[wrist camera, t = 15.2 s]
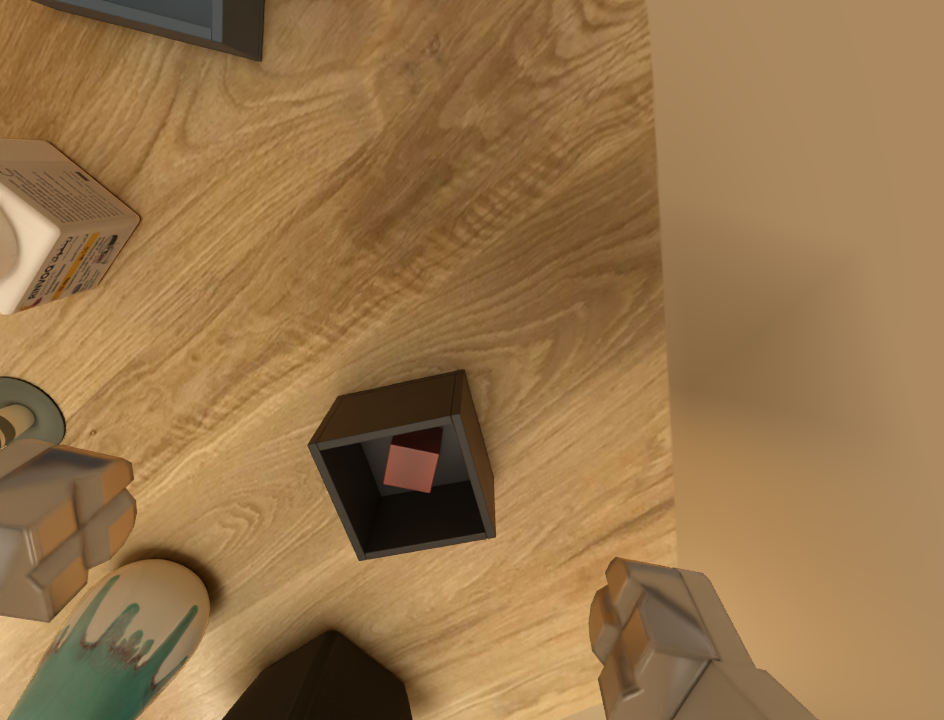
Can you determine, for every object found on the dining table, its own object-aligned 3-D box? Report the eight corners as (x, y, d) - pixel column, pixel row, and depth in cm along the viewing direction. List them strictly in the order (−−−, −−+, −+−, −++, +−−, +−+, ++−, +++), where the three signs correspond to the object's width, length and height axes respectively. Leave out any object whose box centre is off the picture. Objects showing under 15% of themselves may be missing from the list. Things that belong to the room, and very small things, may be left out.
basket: (464, 369, 39) (460, 413, 32) (493, 477, 43) (496, 537, 36) (337, 396, 40) (306, 444, 33) (378, 499, 44) (358, 561, 37)
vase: (177, 527, 46) (9, 728, 30) (247, 603, 50) (132, 817, 34) (91, 564, 48) (-111, 769, 32) (164, 633, 52) (18, 848, 36)
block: (443, 428, 41) (439, 454, 37) (434, 465, 42) (430, 493, 38) (398, 418, 40) (390, 444, 37) (391, 456, 42) (382, 484, 38)
